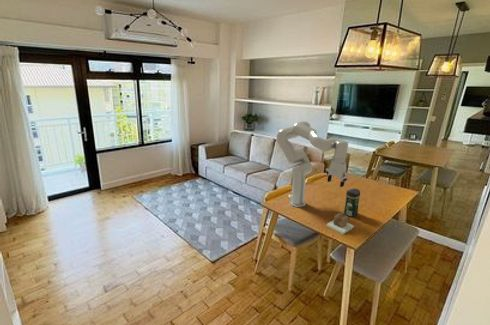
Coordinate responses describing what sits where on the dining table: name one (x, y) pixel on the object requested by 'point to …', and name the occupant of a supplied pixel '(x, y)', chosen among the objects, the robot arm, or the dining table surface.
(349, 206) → the coffee jar
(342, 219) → the walnut cube
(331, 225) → the plate
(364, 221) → the dining table surface
